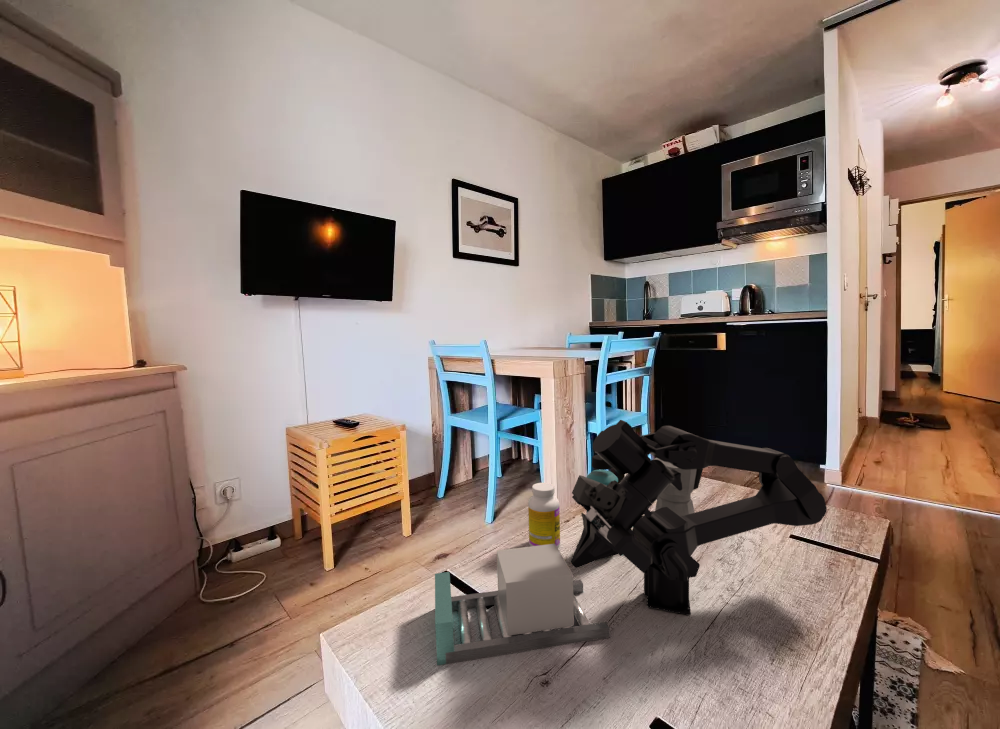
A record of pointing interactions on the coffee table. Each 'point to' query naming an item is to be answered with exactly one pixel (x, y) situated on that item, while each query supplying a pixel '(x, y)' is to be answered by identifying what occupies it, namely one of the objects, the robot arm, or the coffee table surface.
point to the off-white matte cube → (534, 589)
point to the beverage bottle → (601, 471)
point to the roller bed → (507, 643)
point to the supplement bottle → (544, 516)
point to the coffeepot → (680, 499)
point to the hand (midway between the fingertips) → (572, 565)
